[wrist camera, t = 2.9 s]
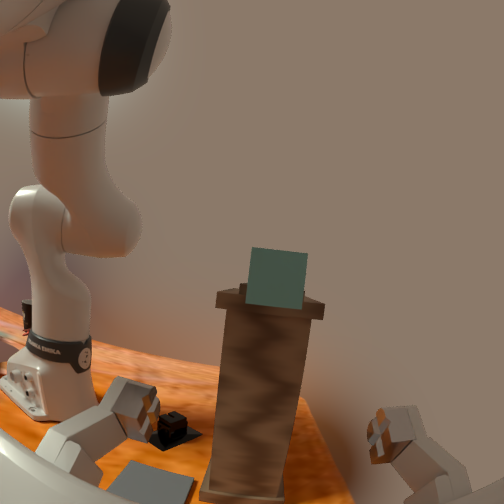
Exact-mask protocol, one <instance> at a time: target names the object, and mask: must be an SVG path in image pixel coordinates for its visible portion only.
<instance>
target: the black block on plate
mask: <svg viewBox="0 0 504 504" xmlns="http://www.w3.org/2000/svg"><path fill="white" fill-rule="evenodd" d="M168 415H169V416H168ZM168 415H167V414H164V415H161V416H159V421H158V426H157V431H154V432H152V434H151V437H150V439H149V442H150V443H151V444H152V445H154V446H155V447H157V448H158V449H160V450H161V451H166V450H168V449H171V448H173V447H176V446H178V445H180V444H183V443H185V442H187V441H190V440H192V439H194V438H196V437H198V436H201V435H203V434H201V433H200V432H198V431H196V430H194V429H192V428H190V427H189V426H187V424H188V422H187V421H186V419H187V418H186V417H184V416H183V415H181V414H179V413H177V412H175V411H173V412H170V413H168Z"/></svg>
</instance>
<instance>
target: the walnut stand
mask: <svg viewBox="0 0 504 504" xmlns="http://www.w3.org/2000/svg"><path fill="white" fill-rule="evenodd" d="M247 285H248V283H243V284H242V283H241V284H240V287H239V289H236V288H233V289H228V290H223V291H218V292H217V298H216V307H215V308H221V309H227V311H226V320H225V328H224V337H223V346H222V355H221V364H220V374H219V383H218V393H217V403H216V413H215V423H214V434H213V445H212V456H211V459H210V462H209V465H208V468H207V471H206V474H205V477H204V480H203V482H202V485H201V488H200V492H199V501H204V502H209V503H215V504H284V501H285V500H284V485H283V469H284V465H285V461H286V457H287V453H288V448H289V444H290V439H291V435H292V430H293V425H294V420H295V415H296V410H297V405H298V400H299V395H300V389H301V383H302V378H303V372H304V366H305V360H306V354H307V347H308V340H309V333H310V327H311V319H318V320H323V316H324V308H325V304H324V303H321V302H318V301H316V300H313V299H310V298H308V297H305V291H304V293H303V302H302V309H291V308H282V307H273V306H264V305H256V304H247V303H245V301H246V293H247Z"/></svg>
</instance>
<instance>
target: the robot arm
mask: <svg viewBox="0 0 504 504" xmlns="http://www.w3.org/2000/svg"><path fill="white" fill-rule="evenodd" d="M169 11H170V5H169V3H168V1H167V0H0V99H30V109H29V128H30V130H29V131H30V145H31V157H32V166H33V172H34V174H35V177H36V178H37V180H38V182H39V183H40V184H41V185H33V186H26V187H22V188H21V189H20V190H19V191H18V192H17V193H16V195H15V196H14V198H13V200H12V202H11V205H10V209H9V226H10V229H11V232H12V234H13V236H14V237H15V239H16V240H17V241H18V243H19V245H20V246H21V248H22V250H23V253H24V255H25V257H26V261H27V263H28V267H29V271H30V277H31V284H32V328H31V329H25V330H23V331H27V333H24V334H23V336H26V335H28V338H27V342H26V346H25V347H24V348H22V349H21V350H19V351H18V352H17V353H15V354H14V355H13V356H11V357H10V358H9V360H8V362H7V375H6V376H4V377H2V378H1V379H0V388H1V390H2V391H3V392H4V393H5V394H6V395H7V396H8V397H9V398H10V399H11V400H12V401H13V402H14V403H15V404H16V405H17V406H19V407H20V408H21V409H22V410H23V411H24V412H25V413H26V414H27V415H28V416H29V417H31V418H32V419H33V420H36V421H47V420H54V421H61V423H59V424H57V425H55V426H53V427H51V428H49V430H48V431H47V433H46V435H45V436H44V438H43V440H42V441H41V443H40V445H39V446H38V448H37V450H36V451H35V453H34V452H33V451H31V450H30V449H28V448H27V447H25V446H24V445H22V444H21V443H20V442H18V441H17V440H15V439H14V438H13V437H11V436H10V435H9V434H7V433H6V432H5V431H3V430H2V429H1V428H0V504H139V503H136V502H133V501H131V500H128V499H125V498H122V497H120V496H117V495H115V494H112V493H110V492H108V491H105V490H103V489H101V488H98V486H99V483H100V481H101V478H102V476H103V472H102V470H101V469H100V468H99V467H98V466H97V465H96V464H95V463H94V462H95V461H97V460H98V459H100V458H101V457H103V456H104V455H105V454H107V453H108V452H110V451H111V450H113V449H114V448H115V447H117V446H118V445H119V444H121V443H122V442H124V441H125V440H126V439H127V438H130V439H134V440H137V441H141V442H144V443H148V442H149V439H150V437H151V434H152V432H153V429H152V426H151V424H153V423H154V422H156V421H157V419H158V416H159V412H160V401H159V399H158V398H157V397H156V394H157V390H156V387H155V386H151V385H147V384H144V383H140V382H137V381H133V380H130V379H127V378H123V377H120V376H117V377H116V378H115V379H114V380H113V382H112V384H111V385H110V387H109V389H108V391H107V392H106V394H105V396H104V397H103V399H102V401H101V403H100V404H99V403H98V401H97V398H96V395H95V391H94V387H93V383H92V377H91V369H90V366H91V356H92V342H91V336H90V335H89V332H90V330H89V329H90V310H91V295H90V292H89V290H88V288H87V286H86V285H85V284H84V283H83V282H82V281H81V280H80V279H79V278H77V277H76V276H75V275H74V274H72V273H71V272H70V271H69V270H68V268H67V266H66V263H65V253H72V254H78V255H84V256H91V257H97V258H114V257H125V256H127V255H128V254H129V253H130V252H131V251H132V250H133V249H134V248H135V247H136V245H137V243H138V241H139V239H140V236H141V232H142V219H141V214H140V211H139V209H138V207H137V206H136V204H135V203H134V202H133V201H132V200H130V199H129V198H128V197H126V196H125V195H124V194H123V193H122V192H121V191H120V190H119V189H118V187H117V186H116V185H115V183H114V182H113V180H112V178H111V176H110V174H109V173H108V170H107V166H106V163H105V131H106V122H107V113H108V104H109V96H112V95H120V94H124V93H130V92H133V91H135V90H136V89H138V88H139V87H141V86H142V85H144V84H146V83H147V81H148V78H149V77H150V76H151V75H152V73H153V72H154V71H155V70H156V69H157V67H158V66H159V64H160V63H161V61H162V60H163V58H164V56H165V54H166V52H167V49H168V46H169V43H170V39H171V32H172V30H171V29H172V24H171V17H170V13H169ZM367 439H368V442H369V443H370V444H371V445H372V447H371V449H370V450H369V451H370V458H371V464H382V463H391V465H392V466H393V467H394V468H395V469H396V471H397V472H398V473H399V474H400V475H401V477H402V478H403V479H404V480H405V482H406V483H407V484H408V485H409V487H410V488H411V489H412V490H413V491H414V494H413V495H411V496H409V497H408V498H406V499H405V501H404V504H504V478H502V479H500V480H498V481H496V482H494V483H492V484H490V485H488V486H486V487H484V488H482V489H479V490H477V491H475V492H473V493H472V490H471V486H470V482H469V478H468V475H467V472H466V468H465V467H464V466H463V465H462V464H461V463H460V462H459V461H457V460H456V459H455V458H454V457H453V456H451V455H450V454H449V453H448V452H447V451H445V450H444V449H443V448H442V447H441V446H440V445H439V444H438V443H437V442H435V441H434V440H433V439H432V438H430V437H429V438H427V435H426V431H425V428H424V425H423V422H422V419H421V416H420V413H419V411H418V408H417V406H415V405H411V406H397V407H387V408H380V409H378V411H377V412H376V417H375V418H374V419H372V420H371V422H370V423H369V425H368V429H367Z"/></svg>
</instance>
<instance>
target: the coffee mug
mask: <svg viewBox="0 0 504 504" xmlns="http://www.w3.org/2000/svg"><path fill="white" fill-rule="evenodd" d="M22 311H23V322H24V330H25V329H31V328H32V300H22ZM25 332H26V333H27V331H25Z"/></svg>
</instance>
